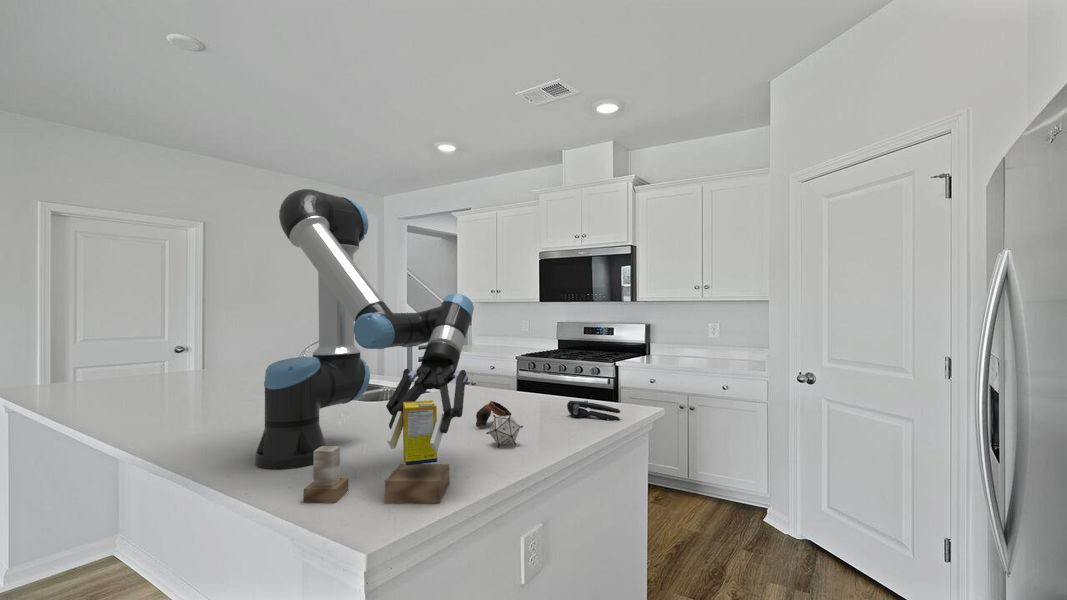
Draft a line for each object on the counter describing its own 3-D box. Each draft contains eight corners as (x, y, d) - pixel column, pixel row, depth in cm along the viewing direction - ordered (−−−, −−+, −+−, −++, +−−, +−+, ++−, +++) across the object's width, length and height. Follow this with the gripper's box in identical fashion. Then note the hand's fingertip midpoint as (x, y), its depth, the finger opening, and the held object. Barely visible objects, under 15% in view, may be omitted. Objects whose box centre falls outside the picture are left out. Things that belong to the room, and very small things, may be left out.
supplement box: (433, 454, 101) (433, 399, 101) (437, 463, 96) (437, 405, 96) (402, 457, 99) (402, 401, 100) (405, 466, 94) (404, 407, 94)
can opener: (563, 418, 164) (563, 400, 164) (571, 414, 170) (571, 397, 170) (617, 423, 156) (617, 405, 156) (623, 419, 163) (623, 401, 163)
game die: (510, 461, 130) (521, 435, 125) (479, 449, 130) (489, 422, 125) (518, 436, 138) (529, 410, 132) (489, 425, 138) (498, 399, 133)
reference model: (303, 502, 93) (303, 453, 93) (317, 490, 99) (318, 444, 99) (335, 502, 93) (336, 453, 93) (348, 490, 99) (348, 444, 99)
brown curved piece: (483, 422, 160) (496, 399, 160) (504, 439, 155) (518, 416, 155) (462, 420, 149) (476, 395, 149) (484, 438, 144) (499, 413, 144)
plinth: (384, 502, 93) (384, 480, 93) (400, 483, 102) (400, 463, 103) (439, 503, 92) (439, 481, 92) (449, 484, 102) (449, 464, 102)
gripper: (492, 363, 111) (469, 458, 95) (404, 361, 115) (368, 453, 99) (485, 340, 106) (460, 437, 90) (393, 340, 110) (353, 432, 94)
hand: (412, 445), depth 94 cm, fingers closed on supplement box, 8 cm apart
